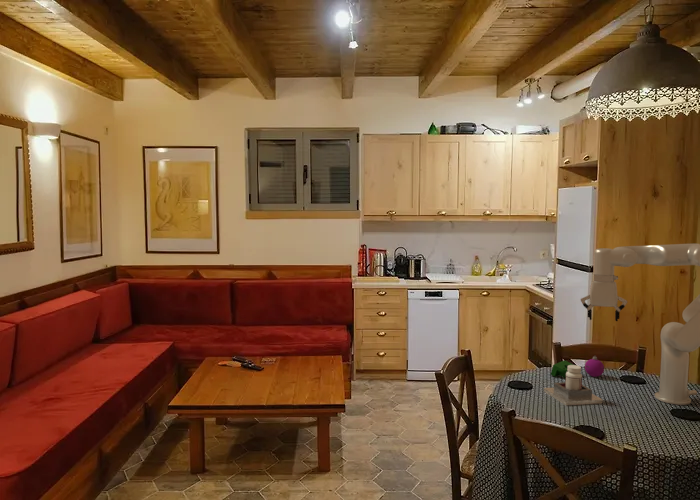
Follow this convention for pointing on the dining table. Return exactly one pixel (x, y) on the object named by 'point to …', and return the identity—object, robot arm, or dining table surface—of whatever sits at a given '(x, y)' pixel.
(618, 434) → the dining table surface
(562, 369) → the green lumpy block
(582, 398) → the docking plate
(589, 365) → the christmas ornament
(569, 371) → the pill bottle
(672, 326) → the robot arm
